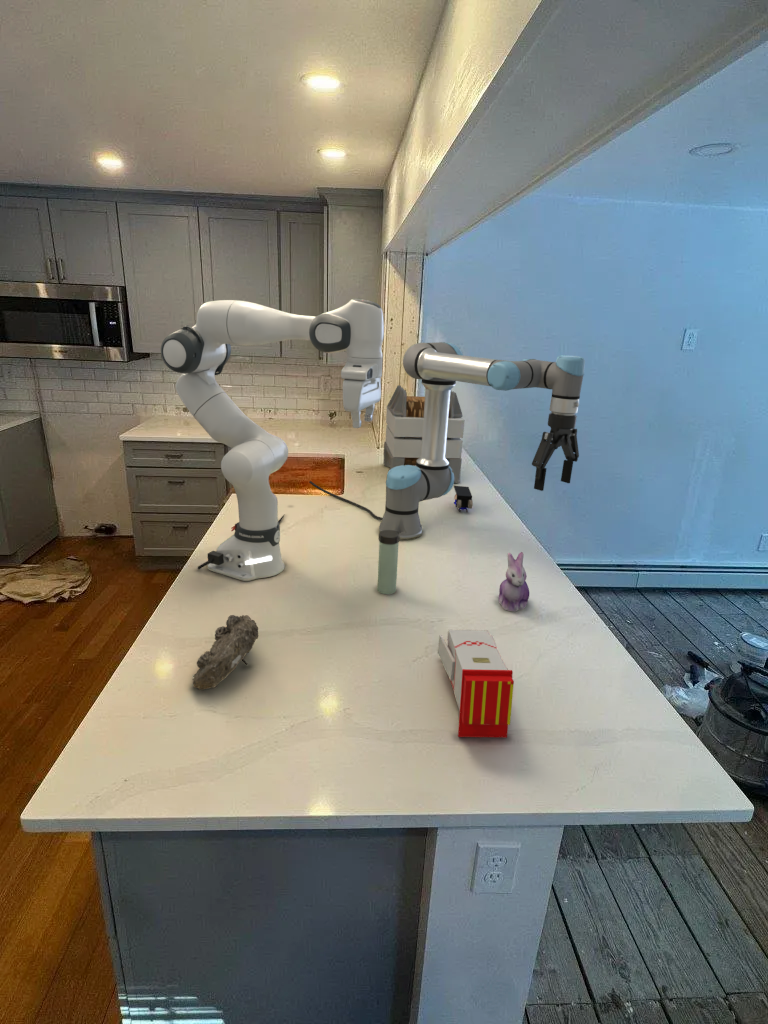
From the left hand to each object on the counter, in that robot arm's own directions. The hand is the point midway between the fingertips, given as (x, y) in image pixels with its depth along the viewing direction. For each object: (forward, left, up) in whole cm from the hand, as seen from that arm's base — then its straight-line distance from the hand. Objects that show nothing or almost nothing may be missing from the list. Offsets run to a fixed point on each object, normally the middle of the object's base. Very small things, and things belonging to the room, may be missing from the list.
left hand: (362, 424), depth 145 cm
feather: (-43, +41, -46) cm, 76 cm away
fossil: (-15, -44, -46) cm, 66 cm away
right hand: (+49, +29, -18) cm, 60 cm away
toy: (+37, -37, -46) cm, 70 cm away
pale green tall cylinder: (+8, +1, -46) cm, 47 cm away
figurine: (+43, +5, -46) cm, 64 cm away
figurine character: (+18, +79, -46) cm, 94 cm away
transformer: (-10, +123, -46) cm, 132 cm away
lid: (+8, +1, -30) cm, 31 cm away
